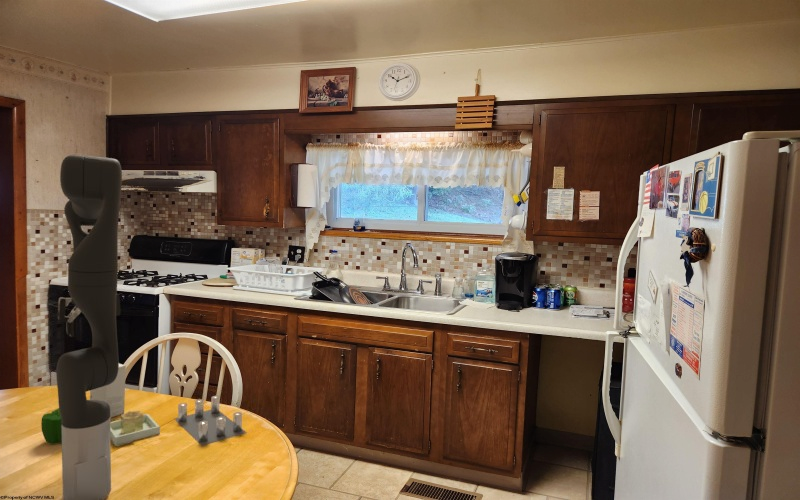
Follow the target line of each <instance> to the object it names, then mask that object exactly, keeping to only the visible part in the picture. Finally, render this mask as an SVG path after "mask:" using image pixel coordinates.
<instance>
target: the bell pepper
mask: <svg viewBox="0 0 800 500" xmlns="http://www.w3.org/2000/svg"><path fill="white" fill-rule="evenodd" d="M40 422H41V424H40V425H41V432H42V435H43V438H44V440H45V442H46V443H47V444H50V445H56V444H62V422H61V414H60V410H59V407H58V408H56V409H55V410H53V411H51V412H48V413H45V414H43V415H42V417H41V421H40Z"/></svg>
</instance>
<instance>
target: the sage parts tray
mask: <svg viewBox="0 0 800 500" xmlns="http://www.w3.org/2000/svg"><path fill="white" fill-rule="evenodd" d="M160 429H161V427H160V425H159V424H158V423H157V421H155V420H154V418H152V417H151V415H150V414H149V413H145V414H143V430H140V431H136V432H132V433H128V434H124V435H122V433H121V419H119V420H118V419H117V420H114V421H110V441H111V442H112V444H113V445H114V446H115V447H119V446H122V445H127V444H131V443H134V441H137V440H141V439H143V438H148V437H152V436H155V435H160V434H161V433H160V432H161V430H160Z"/></svg>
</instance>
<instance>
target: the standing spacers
mask: <svg viewBox="0 0 800 500" xmlns="http://www.w3.org/2000/svg"><path fill="white" fill-rule="evenodd" d="M210 401H211V402H210V405H211V406H210V410H211V414H218V413H219V411H220V396H219V395H213V396H211V400H210ZM204 402H205V401H204V399H202V398H201V399H200V398H199V399H195V401H194V414H195V418H202V417H203V411H204V408H205V407H204V404H205V403H204ZM177 407H178V408H177V414H178V415H177V418H178V422H186V421H187V415H188V404H187V402H181V403H179V404H178V406H177ZM232 416H233V420H232V421H233V431H234V432H240V431H242V429H243V413H242V412H241V411H235V412H233V414H232ZM178 422H177V423H178ZM216 436H217V437H223V436H225V417H223V416H220V417H217V418H216ZM207 440H208V422H207V421H201V422H199V440H198V441H199V442H205V441H207Z"/></svg>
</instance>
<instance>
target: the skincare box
mask: <svg viewBox="0 0 800 500" xmlns="http://www.w3.org/2000/svg"><path fill="white" fill-rule="evenodd" d="M126 368H127V367H126V365H125V364H122V363H119V368H118V374H117V377H116V379H115V380H114V382H113V383H111V384H109V385H106V386H103V387H100V388H97V389H93V390H90V391H89V400H99V401H104V402H106V403H108V404H109V406H110V419H112V418H115V417H118V416H121V415H123V414H125V403H126V402H125V399H126V398H125V397H126V395H125V394H126Z"/></svg>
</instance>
